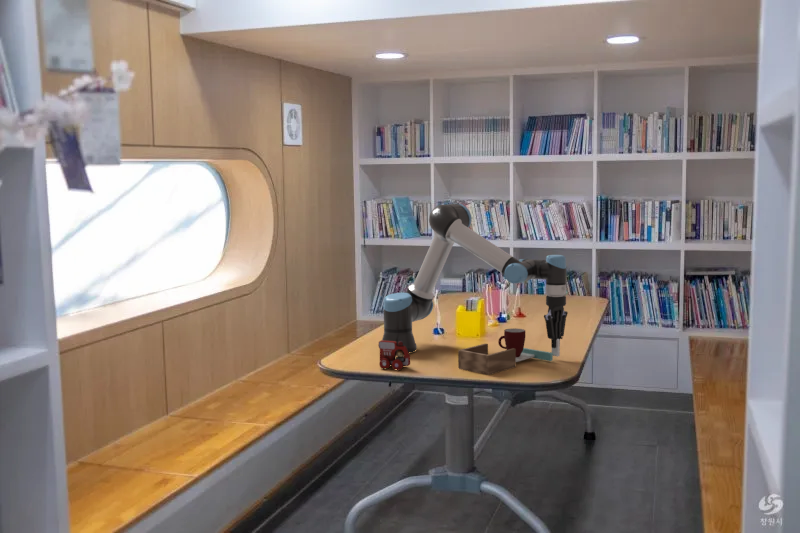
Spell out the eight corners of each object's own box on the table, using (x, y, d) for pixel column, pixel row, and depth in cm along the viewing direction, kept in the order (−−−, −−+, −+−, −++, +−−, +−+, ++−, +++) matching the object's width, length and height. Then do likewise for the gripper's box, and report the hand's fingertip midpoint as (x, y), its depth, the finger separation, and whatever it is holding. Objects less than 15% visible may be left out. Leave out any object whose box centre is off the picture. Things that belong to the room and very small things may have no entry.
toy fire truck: (406, 371, 295) (405, 343, 294) (375, 369, 299) (375, 341, 298) (413, 367, 301) (412, 340, 300) (383, 364, 306) (382, 338, 305)
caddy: (458, 368, 298) (458, 350, 297) (485, 361, 309) (485, 343, 308) (488, 374, 287) (488, 355, 287) (515, 367, 299) (515, 348, 298)
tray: (484, 359, 308) (484, 352, 308) (510, 352, 320) (510, 345, 319) (527, 367, 294) (527, 359, 294) (552, 360, 305) (552, 352, 305)
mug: (496, 357, 306) (496, 331, 305) (500, 352, 314) (500, 327, 313) (523, 358, 303) (523, 332, 302) (526, 354, 310) (527, 328, 309)
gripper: (554, 298, 299) (554, 360, 301) (573, 294, 308) (573, 354, 310) (538, 296, 304) (537, 357, 307) (557, 292, 313) (556, 351, 316)
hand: (555, 355), depth 308 cm, fingers closed
